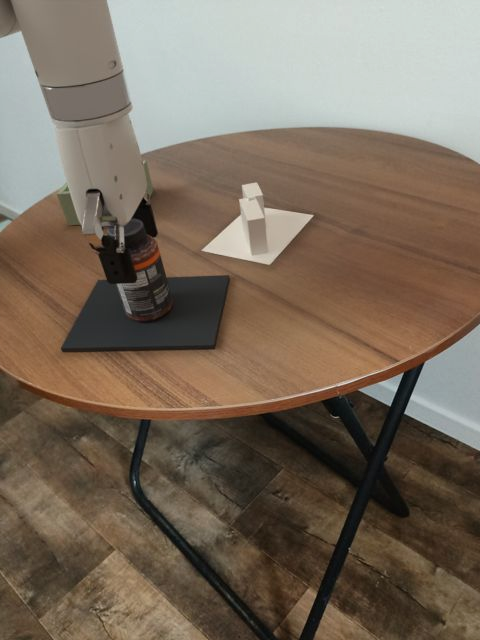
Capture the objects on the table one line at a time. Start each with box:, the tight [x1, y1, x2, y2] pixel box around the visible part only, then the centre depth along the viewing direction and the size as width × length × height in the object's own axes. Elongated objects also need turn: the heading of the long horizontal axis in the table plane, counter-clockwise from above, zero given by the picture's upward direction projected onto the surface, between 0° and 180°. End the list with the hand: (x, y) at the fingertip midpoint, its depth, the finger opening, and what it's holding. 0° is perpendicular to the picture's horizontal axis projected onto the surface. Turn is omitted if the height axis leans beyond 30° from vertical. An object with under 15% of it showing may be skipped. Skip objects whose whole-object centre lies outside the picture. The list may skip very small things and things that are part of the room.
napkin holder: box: [200, 182, 315, 266], centre depth 75 cm, size 15×11×6 cm
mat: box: [60, 274, 231, 353], centre depth 64 cm, size 18×14×1 cm
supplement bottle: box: [106, 219, 173, 322], centre depth 60 cm, size 6×6×11 cm
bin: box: [56, 159, 154, 227], centre depth 87 cm, size 12×12×6 cm
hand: (134, 258), depth 59 cm, fingers open, 9 cm apart
